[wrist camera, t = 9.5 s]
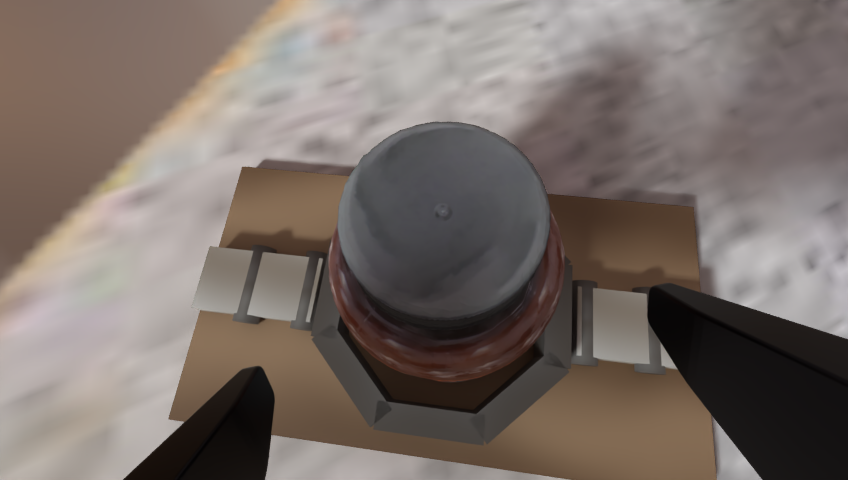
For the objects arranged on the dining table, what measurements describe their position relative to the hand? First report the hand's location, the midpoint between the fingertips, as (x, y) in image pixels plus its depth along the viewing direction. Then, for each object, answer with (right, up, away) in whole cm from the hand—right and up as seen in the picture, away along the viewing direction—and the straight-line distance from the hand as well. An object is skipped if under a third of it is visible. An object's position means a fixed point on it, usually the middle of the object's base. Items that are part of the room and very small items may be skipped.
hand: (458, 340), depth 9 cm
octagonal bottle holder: (0, -1, +10) cm, 10 cm away
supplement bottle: (0, -1, +9) cm, 9 cm away
